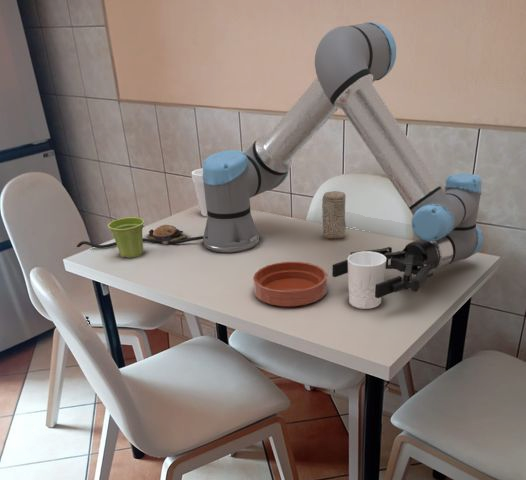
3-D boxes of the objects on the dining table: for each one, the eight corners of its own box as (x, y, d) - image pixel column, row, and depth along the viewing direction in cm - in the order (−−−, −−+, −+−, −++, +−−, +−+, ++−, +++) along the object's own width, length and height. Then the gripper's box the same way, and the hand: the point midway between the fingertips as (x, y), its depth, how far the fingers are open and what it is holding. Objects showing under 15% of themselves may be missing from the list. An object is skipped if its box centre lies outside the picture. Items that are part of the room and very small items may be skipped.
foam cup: (221, 218, 176) (217, 175, 169) (192, 217, 178) (187, 175, 171) (229, 208, 184) (225, 167, 177) (201, 208, 186) (197, 167, 179)
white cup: (390, 306, 120) (393, 262, 115) (355, 313, 119) (357, 268, 113) (373, 291, 127) (375, 249, 122) (340, 297, 125) (341, 254, 120)
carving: (345, 232, 160) (346, 189, 154) (345, 241, 154) (346, 197, 147) (323, 232, 161) (323, 189, 155) (321, 241, 155) (321, 197, 148)
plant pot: (119, 263, 149) (112, 231, 144) (110, 252, 156) (103, 221, 152) (153, 255, 152) (148, 224, 148) (143, 245, 160) (137, 214, 155)
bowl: (242, 301, 126) (240, 285, 124) (273, 273, 138) (272, 258, 136) (310, 313, 119) (310, 296, 117) (337, 283, 132) (337, 266, 130)
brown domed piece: (189, 238, 163) (188, 225, 161) (163, 246, 158) (162, 233, 156) (170, 229, 170) (168, 217, 168) (145, 236, 166) (143, 224, 164)
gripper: (469, 288, 121) (396, 318, 111) (386, 254, 139) (316, 278, 129) (474, 254, 117) (398, 283, 107) (388, 225, 135) (316, 247, 125)
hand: (354, 280), depth 118 cm, fingers open, 12 cm apart
